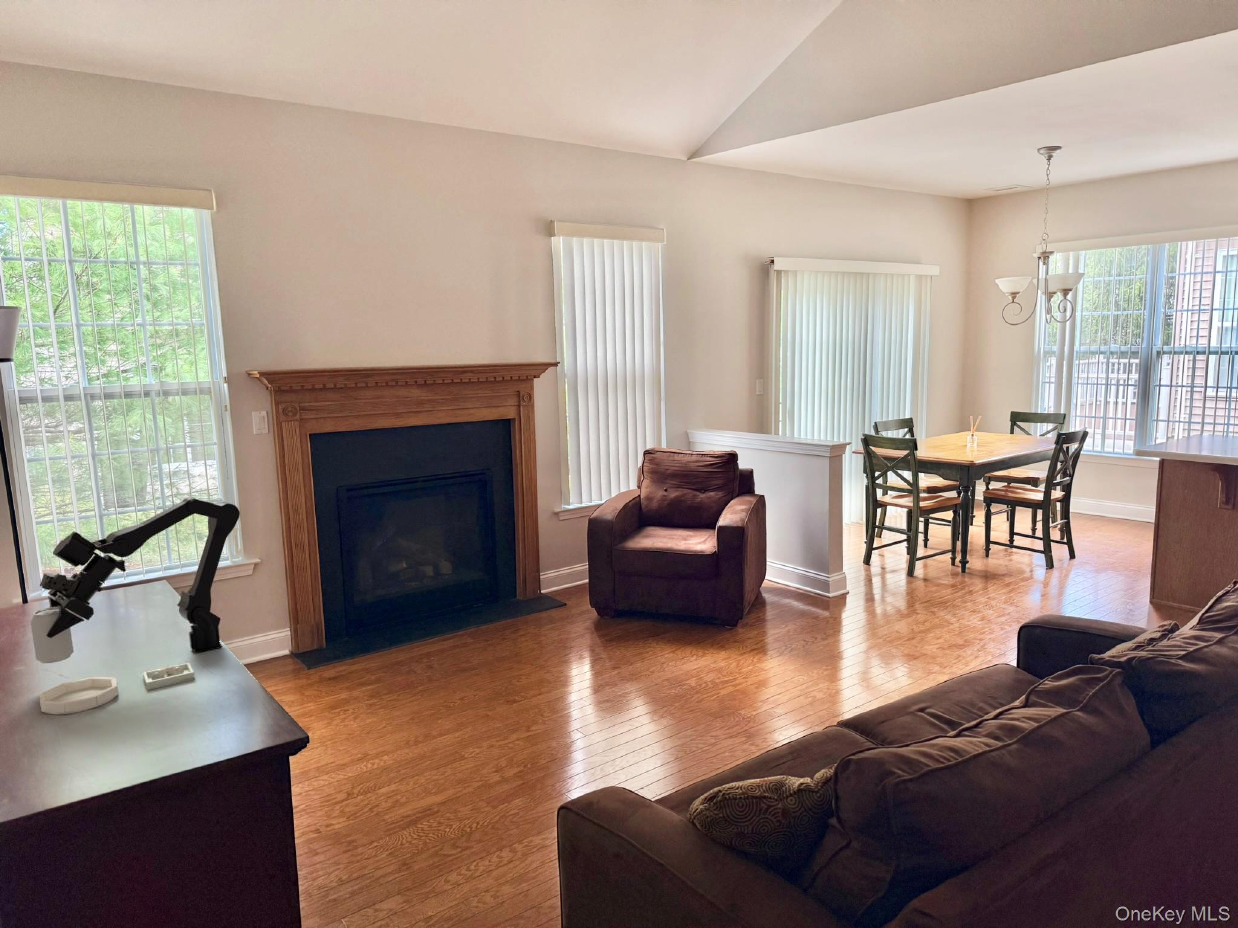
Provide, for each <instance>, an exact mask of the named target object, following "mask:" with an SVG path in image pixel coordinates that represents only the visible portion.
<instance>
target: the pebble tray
mask: <svg viewBox="0 0 1238 928" xmlns="http://www.w3.org/2000/svg"><path fill="white" fill-rule="evenodd" d="M171 666H172V667H174V668H175V667H177V666H180V667H182V668H183V669H184V673H183V674H179V675H175V676H174V675H173V674H171V675H168V674H165V676H164V677H162V678H161V679H157V680H152V675H153V674H154V673H156V672H157V671H158V670H159V669H160V668H158V669H154V670H149V671H144V672H142V677H143V678H142V679H143V682H144V685H145V688H146V690H147V691H151V690H153V689H157V688H162V687H167V686H171V685H175V684H179V683H183V682H189V681H193V680H195V679H196V677H195V671H194V669H193V667H192V666H191V663H190V662H186V663H181V664H177V665H176V664H175V665H171ZM167 667H168V666H167ZM167 667H163V668H161V669H163V670H165V669H166V668H167Z"/></svg>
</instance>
